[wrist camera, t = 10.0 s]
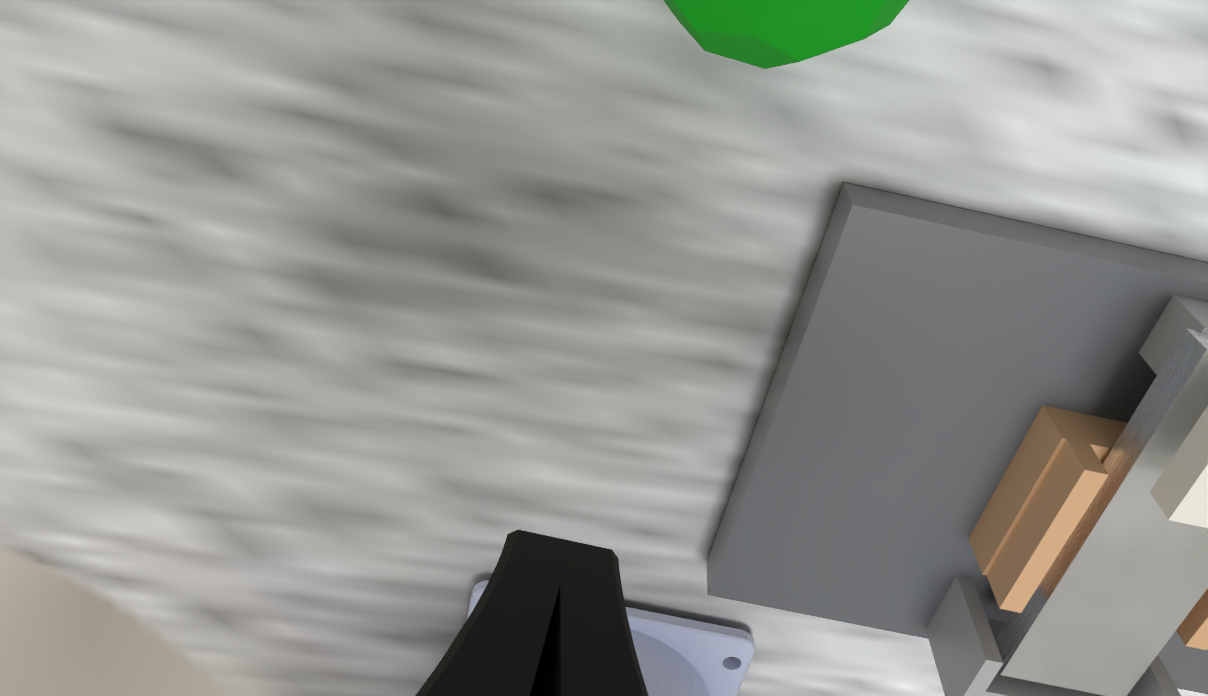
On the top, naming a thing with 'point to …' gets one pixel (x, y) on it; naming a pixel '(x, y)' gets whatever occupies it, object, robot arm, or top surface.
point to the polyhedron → (781, 26)
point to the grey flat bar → (1121, 554)
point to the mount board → (951, 428)
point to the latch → (1187, 479)
